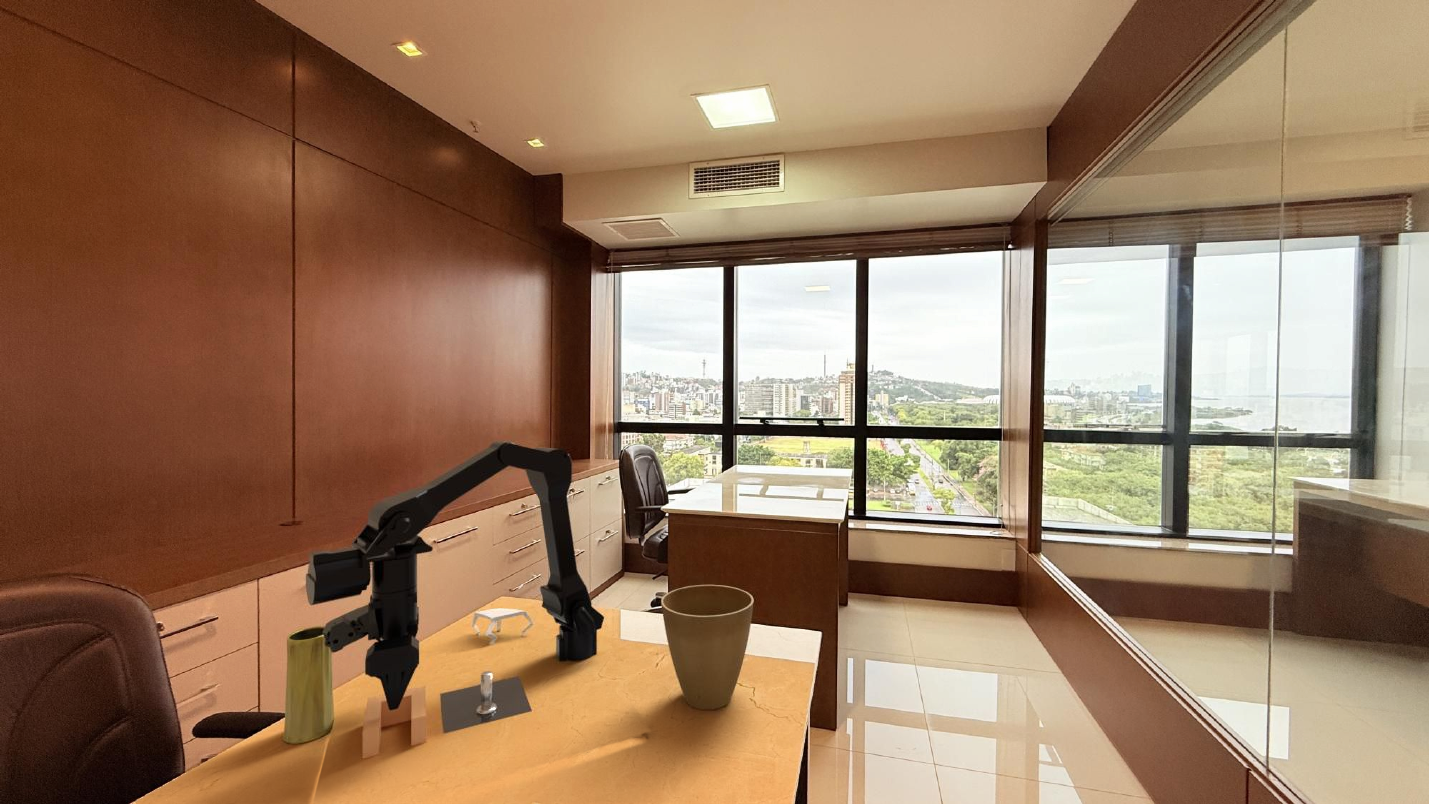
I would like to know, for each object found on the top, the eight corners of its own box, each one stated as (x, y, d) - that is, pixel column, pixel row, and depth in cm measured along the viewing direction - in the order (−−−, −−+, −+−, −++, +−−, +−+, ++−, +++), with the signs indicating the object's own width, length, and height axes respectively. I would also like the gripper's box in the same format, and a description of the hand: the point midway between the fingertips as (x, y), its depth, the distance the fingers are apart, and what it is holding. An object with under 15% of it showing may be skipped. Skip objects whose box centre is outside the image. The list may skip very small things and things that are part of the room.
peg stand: (518, 681, 94) (518, 643, 94) (531, 717, 84) (531, 674, 84) (440, 699, 89) (440, 659, 89) (443, 740, 78) (443, 694, 78)
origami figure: (468, 649, 107) (468, 624, 107) (472, 632, 115) (472, 609, 115) (534, 641, 111) (534, 616, 111) (533, 625, 119) (533, 602, 119)
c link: (425, 712, 84) (425, 685, 84) (426, 744, 76) (426, 715, 76) (367, 725, 80) (367, 698, 80) (362, 761, 72) (362, 730, 72)
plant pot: (766, 685, 93) (766, 590, 93) (731, 734, 80) (731, 622, 80) (687, 667, 99) (687, 578, 99) (643, 709, 86) (643, 606, 86)
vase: (307, 747, 76) (307, 643, 76) (271, 741, 78) (271, 640, 78) (345, 722, 82) (345, 626, 82) (310, 717, 84) (311, 623, 84)
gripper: (336, 577, 85) (336, 678, 85) (317, 619, 69) (317, 745, 69) (418, 567, 90) (418, 662, 90) (419, 603, 74) (419, 720, 74)
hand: (394, 693), depth 81 cm, fingers open, 9 cm apart
